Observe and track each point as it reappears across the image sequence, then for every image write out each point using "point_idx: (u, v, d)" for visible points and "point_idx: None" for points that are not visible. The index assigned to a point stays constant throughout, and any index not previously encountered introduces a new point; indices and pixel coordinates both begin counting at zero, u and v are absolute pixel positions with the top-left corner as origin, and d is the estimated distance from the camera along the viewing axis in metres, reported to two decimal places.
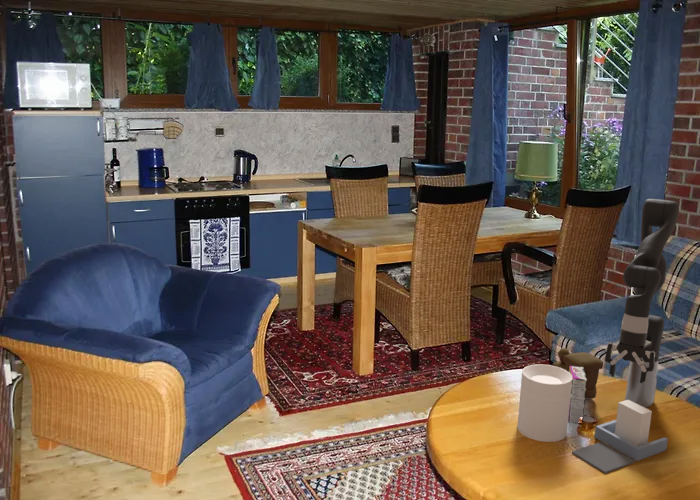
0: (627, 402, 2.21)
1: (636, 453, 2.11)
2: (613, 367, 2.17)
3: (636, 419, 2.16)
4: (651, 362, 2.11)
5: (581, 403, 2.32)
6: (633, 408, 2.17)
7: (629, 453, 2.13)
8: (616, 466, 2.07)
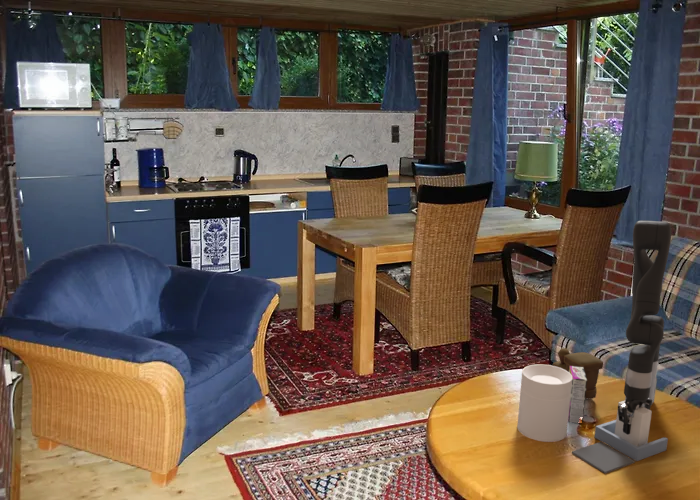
0: None
1: (636, 453, 2.11)
2: (630, 425, 2.18)
3: (636, 419, 2.16)
4: None
5: (581, 403, 2.32)
6: None
7: (629, 453, 2.13)
8: (616, 466, 2.07)
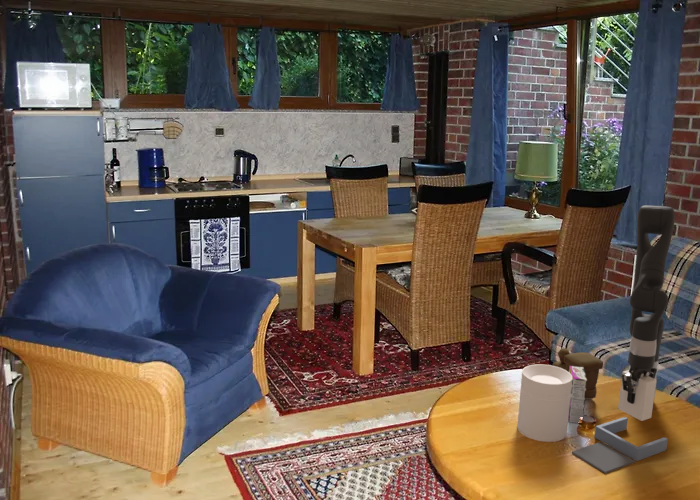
0: None
1: (636, 453, 2.11)
2: (634, 394, 2.15)
3: (640, 388, 2.13)
4: None
5: (581, 403, 2.32)
6: None
7: (629, 453, 2.13)
8: (616, 466, 2.07)
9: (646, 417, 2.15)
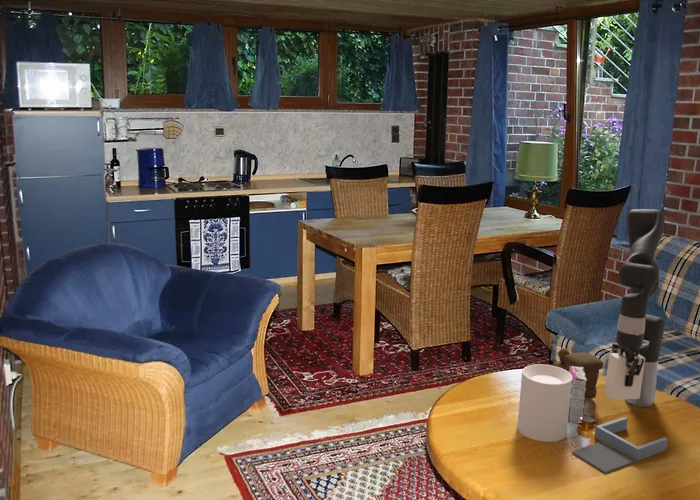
0: (617, 355, 2.06)
1: (636, 453, 2.11)
2: None
3: None
4: None
5: (581, 403, 2.32)
6: None
7: (629, 453, 2.13)
8: (616, 466, 2.07)
9: None
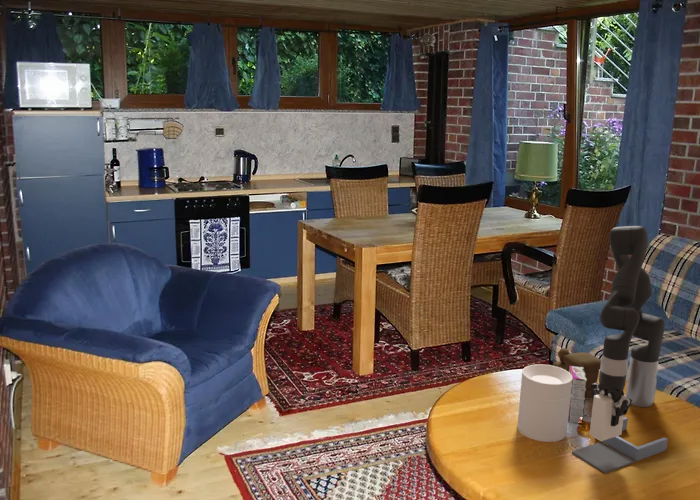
0: (602, 397, 2.06)
1: (636, 453, 2.11)
2: None
3: None
4: None
5: (581, 403, 2.32)
6: None
7: (629, 453, 2.13)
8: (616, 466, 2.07)
9: None
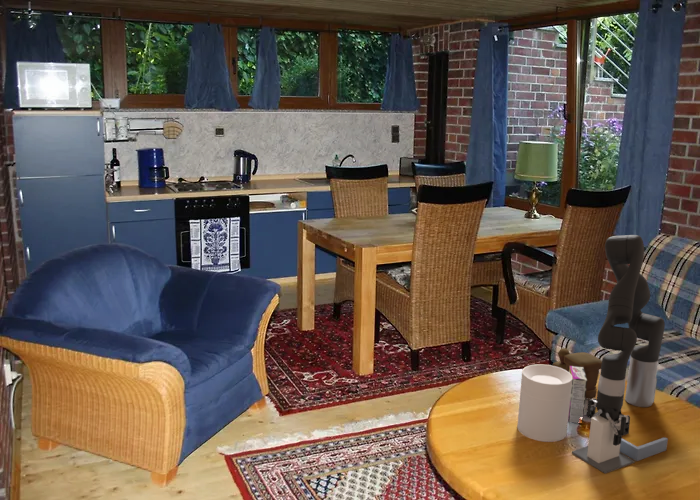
0: (599, 419, 2.08)
1: (636, 453, 2.11)
2: None
3: None
4: None
5: (581, 403, 2.32)
6: None
7: (629, 453, 2.13)
8: (616, 466, 2.07)
9: None
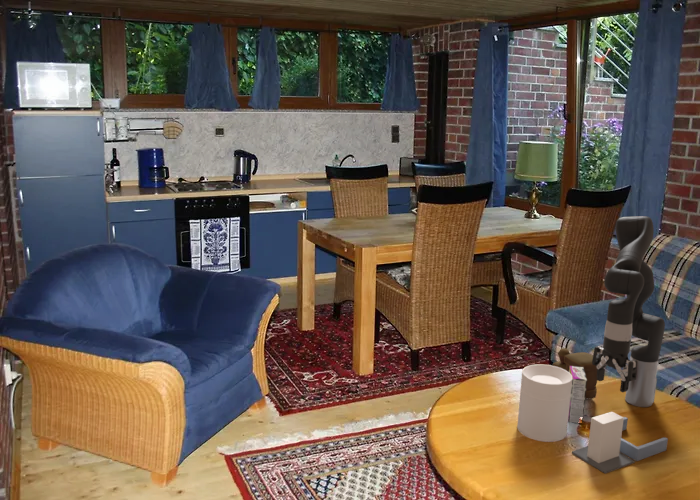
0: (599, 419, 2.08)
1: (636, 453, 2.11)
2: None
3: (618, 426, 2.09)
4: None
5: (581, 403, 2.32)
6: (612, 419, 2.08)
7: (629, 453, 2.13)
8: (616, 466, 2.07)
9: None
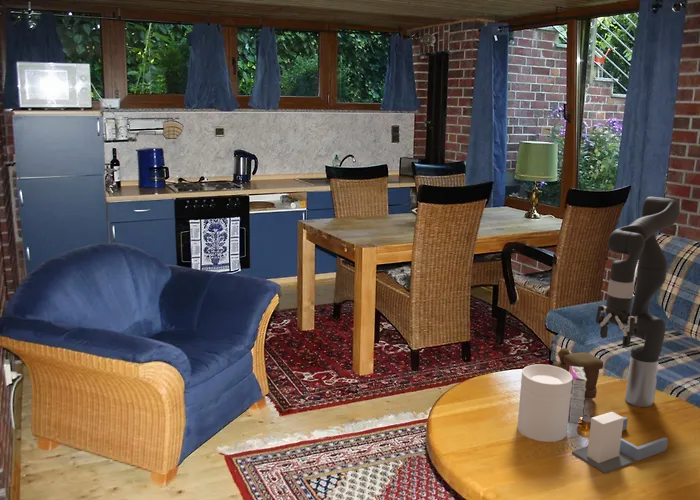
0: (599, 419, 2.08)
1: (636, 453, 2.11)
2: None
3: (618, 426, 2.09)
4: None
5: (581, 403, 2.32)
6: (612, 419, 2.08)
7: (629, 453, 2.13)
8: (616, 466, 2.07)
9: None
